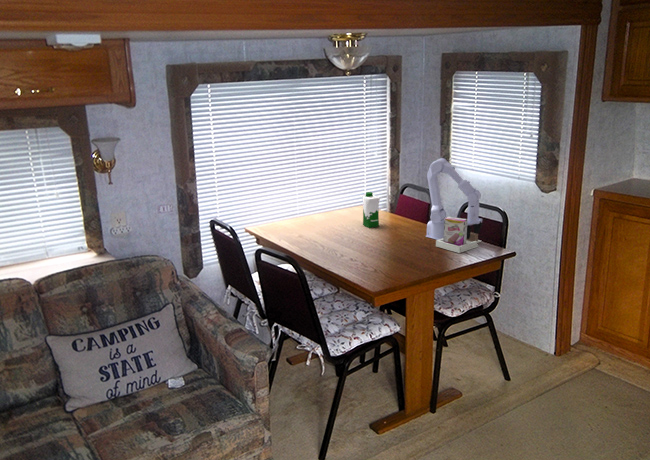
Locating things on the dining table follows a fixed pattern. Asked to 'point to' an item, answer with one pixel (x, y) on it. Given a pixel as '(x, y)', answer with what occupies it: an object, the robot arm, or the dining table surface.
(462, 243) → the candy bar box
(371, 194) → the milk carton
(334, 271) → the dining table surface
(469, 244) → the frame
